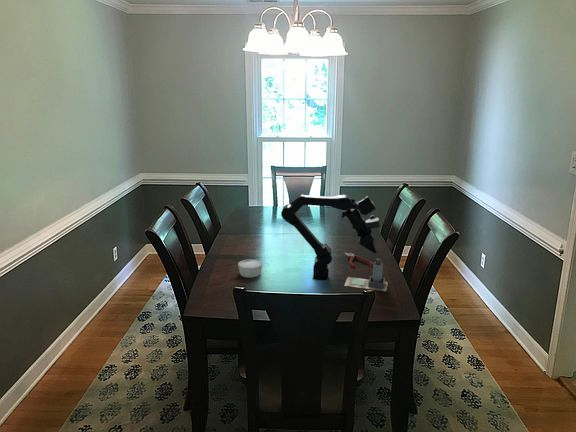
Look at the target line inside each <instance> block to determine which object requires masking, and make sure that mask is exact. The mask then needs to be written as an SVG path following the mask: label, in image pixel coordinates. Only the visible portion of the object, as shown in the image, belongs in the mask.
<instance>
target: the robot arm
mask: <svg viewBox="0 0 576 432" xmlns="http://www.w3.org/2000/svg"><path fill="white" fill-rule="evenodd" d="M303 206H316V207H317V206H319V207H331V208H334V209H336V210H340V211H341V215H340V217H341V219H344V218H345V217H346V219H347V220H348V221H349V224H351V225H350V226H351V227H352V229H353V230H354V231H355V232H356V235H357V237H358V243H359V245H360V246H362V247H364V248H365V249H367V250H368V251H370V252H372V253H373V254H376V253H377V250H376V247H375V242H374V241H375V237H374V235H373V233H372V229H376V228H377V229H380V228H381V223H380V222H381V221H380V219H379V217H376V216H375V215H370V216H369V218H368V219H365V218H364V217H363V216H367V215H369V214H371V213H373V212H374V211H376V210H377V206H376V205H375V203H374V201H373V200H372V199H371V198H370V197H369V195H366V196H365V197H364V198H362V199H361V200H359V201H358V200H356V199H353V198H351V197H350V195H348V194H339V195H333V196H324V195H307V194H300V195H299V196H298V197H297V198H295V199H294V200H293V201H291V203H289V204H285V205H284V206H283V208H282V209H281V210H282V211H281V213H280V214H281V215H280V216H281V217H282V219H283V220H284V221H285V222H286V223H288V224H290V225H291V226H293V227H294V228H295V230H296V231H297V232H298V233H299V234H300V235H301V236H302V238H303V239H304V240H305V242H307V244H308V245H310V247H311V248H312V249H313V251H314V252H315V257H314V264H313V267H312V268H313V271H312V272H313V273H312V274H313V275H312V277H311V279H312V280H320V281H327V279H328V278H329V277H330V267H329V264H331V263H332V260H333V251H332V248H331V247H329V245H328V243H327V242H325V243H324V244H323V243H322V242H321V241H320V240H319V239H318V237H316V235H314V233H313V232H312V231H311V229H309V227H308V226H307V224H305V222H303V221H302V218H301V217H300V214H299V210H300V209H301V208H302V207H303ZM362 215H363V216H362Z"/></svg>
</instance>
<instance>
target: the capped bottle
mask: <svg viewBox="0 0 576 432" xmlns="http://www.w3.org/2000/svg"><path fill="white" fill-rule="evenodd" d="M383 266H384V263H383V262H382V259H381V258H375V261H374V262H373V267H372V276H373V278H372V282H378V283H381V282H382V278H383V271H384V270H383V268H384V267H383Z"/></svg>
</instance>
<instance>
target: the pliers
mask: <svg viewBox="0 0 576 432" xmlns="http://www.w3.org/2000/svg"><path fill="white" fill-rule="evenodd" d="M344 254H345V255H346V256H347V260H348V266H349V267H351V268H352V269H356V265H355V263H354V262H353V261H356V262H360V263H363V264H366V265H368V266H369V267H370V268H373V265H374V262H372V261H371V260H369V259H367V258H363V257H361V256H359V255H357V254H356V255H355V254H353V253H352V252H349V253H348V252H344Z"/></svg>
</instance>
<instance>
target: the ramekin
mask: <svg viewBox="0 0 576 432" xmlns="http://www.w3.org/2000/svg"><path fill="white" fill-rule="evenodd" d="M237 267H238V270H239V271H238V272H239V275H241V277H243V278H248V279H249V278H256V277H259V276H260V275H261V273H262V267H263V262H262V261H260V260H258V259H243V260H241V261H239V262H238V263H237Z"/></svg>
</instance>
